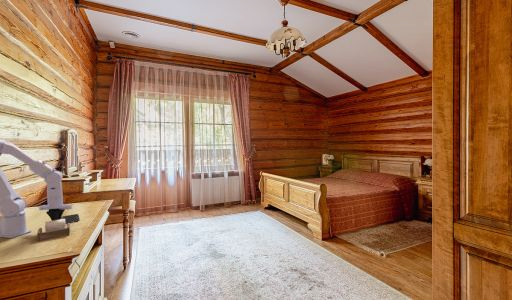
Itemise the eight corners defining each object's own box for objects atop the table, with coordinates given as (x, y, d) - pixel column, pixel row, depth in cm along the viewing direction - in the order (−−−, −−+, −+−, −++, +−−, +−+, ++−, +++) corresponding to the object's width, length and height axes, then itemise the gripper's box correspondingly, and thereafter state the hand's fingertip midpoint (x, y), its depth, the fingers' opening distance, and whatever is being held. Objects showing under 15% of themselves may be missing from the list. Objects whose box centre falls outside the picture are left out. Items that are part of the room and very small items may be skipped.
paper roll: (46, 233, 112) (44, 231, 109) (46, 223, 114) (44, 220, 110) (65, 230, 116) (64, 228, 113) (65, 219, 118) (64, 217, 114)
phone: (60, 223, 122) (60, 216, 134) (60, 225, 122) (60, 218, 134) (79, 219, 127) (78, 213, 139) (79, 222, 127) (78, 215, 139)
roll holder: (39, 235, 107) (39, 228, 107) (69, 230, 114) (69, 222, 113) (37, 241, 101) (37, 232, 101) (69, 234, 108) (68, 227, 108)
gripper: (32, 198, 113) (34, 227, 113) (62, 198, 112) (64, 227, 112) (46, 195, 120) (47, 222, 120) (74, 194, 119) (75, 222, 120)
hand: (56, 224), depth 117 cm, fingers closed
